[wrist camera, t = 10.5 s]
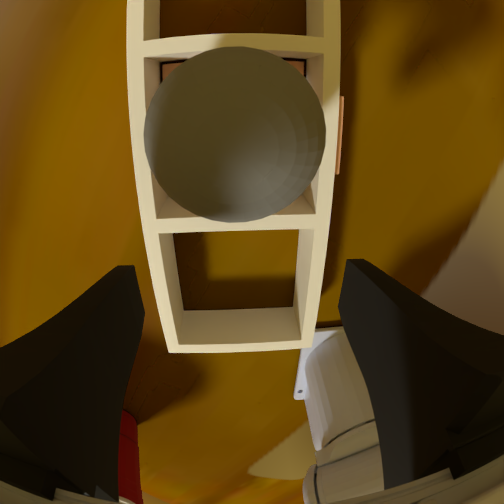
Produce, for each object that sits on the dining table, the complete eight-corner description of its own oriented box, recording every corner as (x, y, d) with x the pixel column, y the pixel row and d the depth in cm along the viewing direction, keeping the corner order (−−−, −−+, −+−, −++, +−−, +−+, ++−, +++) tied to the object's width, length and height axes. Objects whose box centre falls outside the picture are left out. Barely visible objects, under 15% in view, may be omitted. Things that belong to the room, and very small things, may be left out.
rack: (307, 314, 24) (317, 346, 21) (174, 318, 23) (168, 352, 20) (323, -73, 10) (340, -96, 7) (151, -72, 10) (137, -96, 7)
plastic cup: (131, 386, 27) (110, 497, 17) (171, 437, 33) (165, 525, 22) (52, 388, 28) (21, 477, 17) (98, 436, 33) (83, 513, 23)
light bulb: (294, 69, 15) (368, 53, 6) (281, 171, 18) (330, 263, 9) (182, 61, 14) (122, 33, 6) (176, 164, 17) (124, 252, 9)
